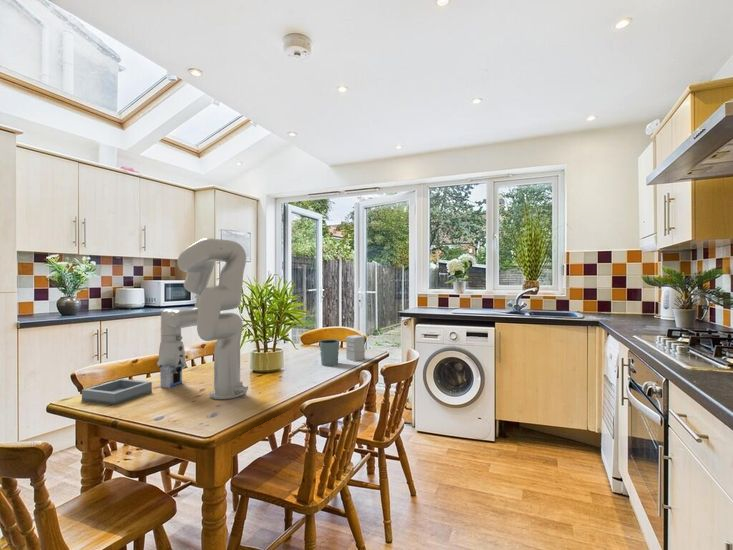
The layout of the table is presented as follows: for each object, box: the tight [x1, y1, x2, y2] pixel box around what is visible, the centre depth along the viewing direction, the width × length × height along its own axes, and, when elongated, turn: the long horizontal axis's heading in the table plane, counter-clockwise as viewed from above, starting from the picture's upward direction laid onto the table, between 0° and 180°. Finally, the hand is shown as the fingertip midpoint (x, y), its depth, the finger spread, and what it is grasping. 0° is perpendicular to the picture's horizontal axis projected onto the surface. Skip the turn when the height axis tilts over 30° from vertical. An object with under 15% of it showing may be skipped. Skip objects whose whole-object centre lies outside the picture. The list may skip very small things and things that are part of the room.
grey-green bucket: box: [319, 339, 340, 367], centre depth 199 cm, size 10×10×12 cm
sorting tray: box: [81, 378, 153, 406], centre depth 148 cm, size 16×16×4 cm
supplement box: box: [345, 334, 366, 362], centre depth 211 cm, size 7×7×13 cm
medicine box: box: [159, 364, 183, 389], centre depth 163 cm, size 8×4×9 cm, turn 168°
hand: (171, 381), depth 163 cm, fingers closed on medicine box, 4 cm apart
